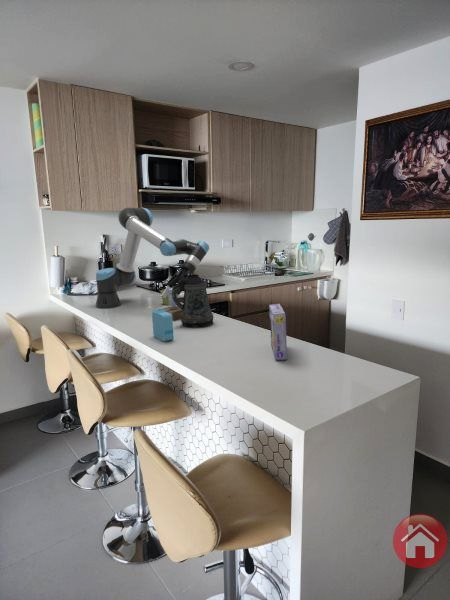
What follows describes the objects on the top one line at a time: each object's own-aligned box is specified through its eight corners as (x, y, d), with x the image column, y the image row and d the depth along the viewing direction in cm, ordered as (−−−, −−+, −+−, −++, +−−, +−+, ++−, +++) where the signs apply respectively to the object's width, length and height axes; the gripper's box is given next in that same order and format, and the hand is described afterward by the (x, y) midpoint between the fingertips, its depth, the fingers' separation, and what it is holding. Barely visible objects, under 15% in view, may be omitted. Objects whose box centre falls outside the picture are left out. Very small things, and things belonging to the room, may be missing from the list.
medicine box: (170, 303, 216) (169, 287, 214) (178, 302, 216) (177, 287, 214) (168, 306, 208) (167, 290, 206) (177, 305, 208) (176, 289, 206)
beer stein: (220, 323, 198) (218, 274, 193) (192, 331, 184) (189, 278, 179) (198, 318, 209) (195, 271, 204) (169, 326, 195) (166, 276, 190)
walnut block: (158, 318, 213) (158, 309, 212) (175, 314, 222) (174, 305, 221) (173, 321, 205) (172, 312, 204) (189, 317, 214) (189, 308, 213)
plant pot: (177, 302, 253) (176, 289, 251) (173, 305, 243) (173, 292, 242) (163, 302, 253) (162, 289, 252) (159, 305, 244) (158, 292, 243)
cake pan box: (269, 344, 161) (269, 302, 157) (281, 344, 161) (281, 302, 157) (273, 361, 142) (273, 313, 138) (287, 361, 142) (287, 313, 138)
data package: (174, 340, 171) (172, 313, 169) (164, 342, 168) (162, 315, 166) (162, 334, 181) (160, 309, 178) (153, 336, 178) (151, 310, 176)
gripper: (206, 270, 211) (184, 304, 203) (183, 268, 226) (161, 299, 219) (198, 261, 206) (175, 296, 199) (175, 259, 222) (152, 291, 214)
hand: (168, 297), depth 209 cm, fingers closed on medicine box, 9 cm apart
